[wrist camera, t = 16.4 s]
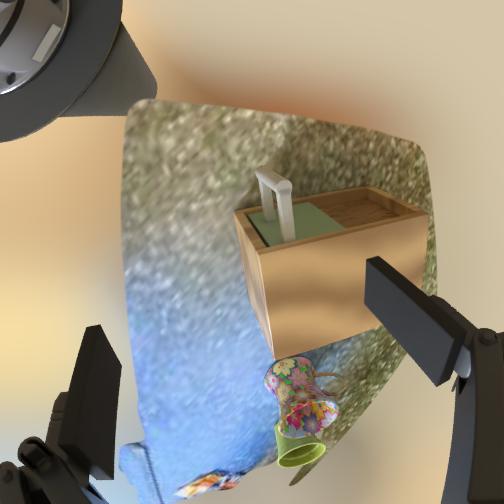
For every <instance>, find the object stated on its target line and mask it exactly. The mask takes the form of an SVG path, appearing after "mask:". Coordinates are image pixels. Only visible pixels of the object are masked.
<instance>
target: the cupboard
mask: <svg viewBox="0 0 504 504" xmlns="http://www.w3.org/2000/svg"><path fill="white" fill-rule="evenodd" d="M306 202H310V203H311V204H313V205H314V206H316V207H317V208H318V209H320V210H321V211H323V212H324V213H325V214H327V215H328V216H330V217H331V218H332V219H334V220H335V221H336V222H338V223H339V224H341V225H342V226H343V227H345V228H346V229H344V230H339V231H335V232H331V233H327V234H322V235H318V236H314V237H310V238H305V239H301V240H297V241H293V242H288V243H284V244H280V245H276V246H271V247H266V246H265V244H264V243H263V241H262V240H261V238H260V237H259V235H258V234H257V232H256V231H255V229H254V228H253V226H252V225H251V223H250V222H249V220H248V214H253V213H258V212H262V211H263V207H262V205H261V206H256V207H251V208H247V209H242V210H237V211H234V212H233V214H234V219H235V225H236V230H237V236H238V241H239V247H240V252H241V258H242V263H243V269H244V274H245V280H246V285H247V290H248V296H249V300H250V303H251V305H252V307H253V310H254V312H255V315H256V317H257V320H258V322H259V325H260V327H261V329H262V332H263V334H264V337H265V339H266V342H267V344H268V346H269V349H270V351H271V354H272V356H273V358H274V360H275V361H276V360H280V359H283V358H287V357H290V356H293V355H297V354H300V353H303V352H306V351H310V350H313V349H316V348H319V347H322V346H325V345H328V344H331V343H334V342H337V341H340V340H343V339H346V338H349V337H351V336H354V335H357V334H360V333H363V332H365V331H368V330H371V329H373V328H376V327H379V326H381V325H383V324H382V323H381V322H380V321H379V320H378V319H377V318H376V317H375V315H374V314H373V313H372V312H371V311H370V310H369V309H368V308H367V307H366V306H365V304H364V294H365V273H366V259H368V258H372V257H375V256H380V257H381V258H382V259H384V260H385V261H386V262H387V263H389V264H390V265H391V266H392V267H394V268H395V269H396V270H397V271H398V272H400V273H401V274H402V275H403V276H405V277H406V278H407V279H408V280H409V281H411V282H412V283H413V284H414V285H415V286H417V287H418V288H419V289H420V290H421V287H422V280H423V273H424V266H425V258H426V249H427V240H428V228H429V215H430V214H429V213H427V212H425V211H424V210H422V209H420V208H418V207H416V206H414V205H412V204H410V203H407V202H405V201H403V200H401V199H399V198H397V197H395V196H393V195H390V194H388V193H386V192H384V191H382V190H380V189H377V188H375V187H373V186H370V185H365V186H359V187H354V188H348V189H343V190H337V191H332V192H326V193H321V194H316V195H311V196H305V197H300V198H295V199H292V205H296V204H301V203H306ZM277 208H278V205H277V202H275V203H274V209H277Z"/></svg>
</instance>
